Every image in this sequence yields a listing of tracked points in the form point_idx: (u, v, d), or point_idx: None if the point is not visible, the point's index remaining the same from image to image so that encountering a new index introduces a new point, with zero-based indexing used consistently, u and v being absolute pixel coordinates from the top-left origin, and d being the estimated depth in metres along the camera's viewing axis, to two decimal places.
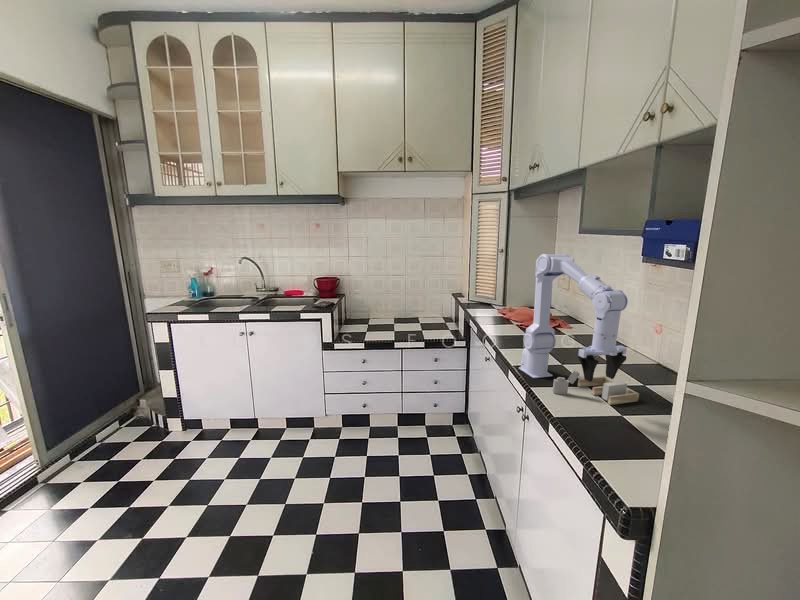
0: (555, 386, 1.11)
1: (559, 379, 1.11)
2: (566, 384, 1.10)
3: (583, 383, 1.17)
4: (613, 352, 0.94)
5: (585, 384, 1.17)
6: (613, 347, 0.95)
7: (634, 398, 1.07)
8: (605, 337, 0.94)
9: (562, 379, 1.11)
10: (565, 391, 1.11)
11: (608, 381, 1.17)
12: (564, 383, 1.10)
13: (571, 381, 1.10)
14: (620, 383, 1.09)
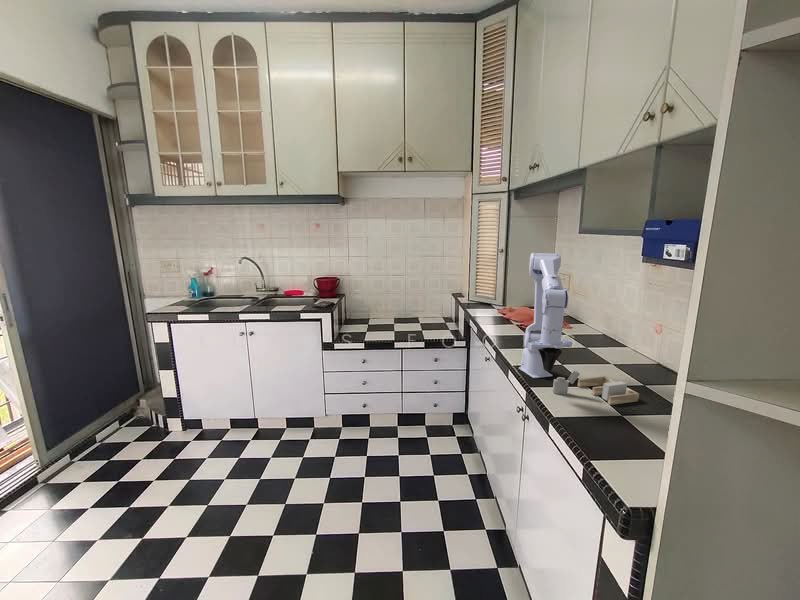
0: (555, 386, 1.11)
1: (559, 379, 1.11)
2: (566, 384, 1.10)
3: (583, 383, 1.17)
4: (558, 345, 1.03)
5: (585, 384, 1.17)
6: (558, 341, 1.04)
7: (634, 398, 1.07)
8: (550, 331, 1.03)
9: (562, 379, 1.11)
10: (565, 391, 1.11)
11: (608, 381, 1.17)
12: (564, 383, 1.10)
13: (571, 381, 1.10)
14: (619, 383, 1.09)
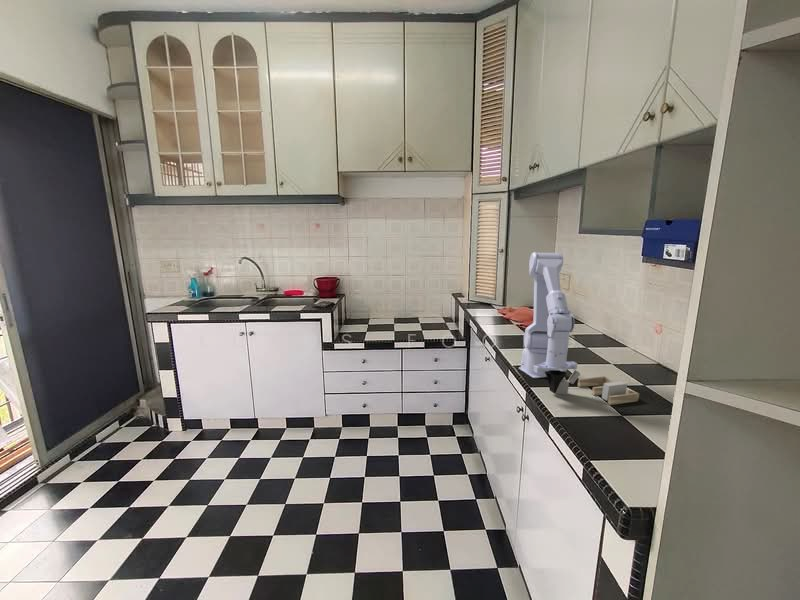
0: None
1: None
2: (566, 384, 1.10)
3: (583, 383, 1.17)
4: (563, 368, 1.06)
5: (585, 384, 1.17)
6: (563, 363, 1.06)
7: (634, 398, 1.07)
8: (556, 355, 1.06)
9: (562, 379, 1.11)
10: (565, 391, 1.11)
11: (608, 381, 1.17)
12: (564, 383, 1.10)
13: (571, 381, 1.10)
14: (620, 383, 1.09)
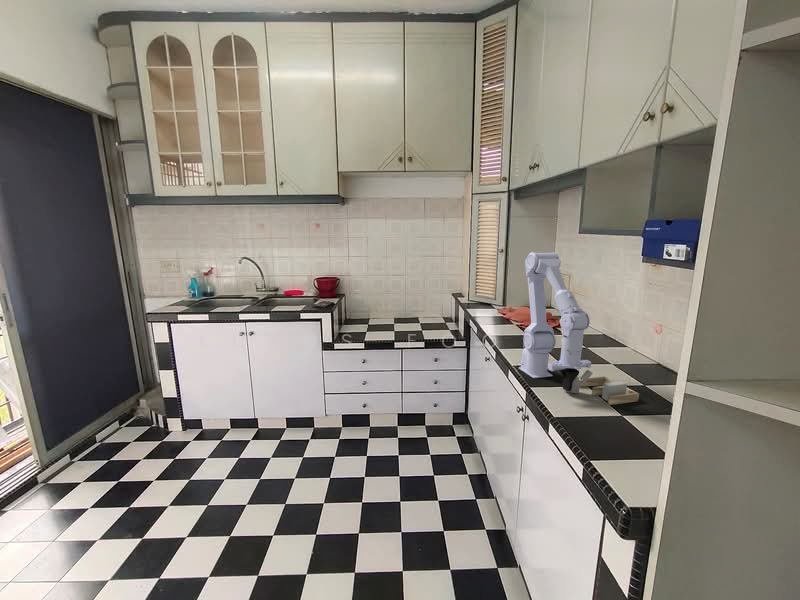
0: None
1: None
2: (578, 383, 1.11)
3: (583, 383, 1.17)
4: (578, 366, 1.06)
5: (585, 384, 1.17)
6: (578, 361, 1.07)
7: (634, 398, 1.07)
8: (570, 353, 1.07)
9: (575, 378, 1.12)
10: (577, 390, 1.12)
11: (608, 381, 1.17)
12: (577, 382, 1.11)
13: (583, 380, 1.11)
14: (620, 383, 1.09)
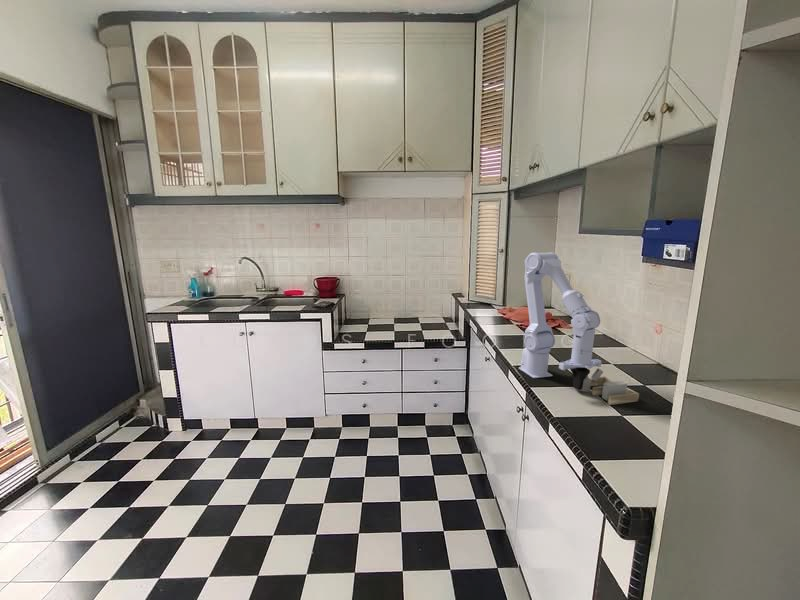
0: None
1: None
2: (589, 381, 1.13)
3: None
4: (589, 365, 1.08)
5: None
6: (589, 361, 1.08)
7: (634, 398, 1.07)
8: (581, 352, 1.08)
9: None
10: (588, 388, 1.13)
11: (608, 381, 1.17)
12: (587, 380, 1.13)
13: (594, 379, 1.12)
14: (620, 383, 1.09)
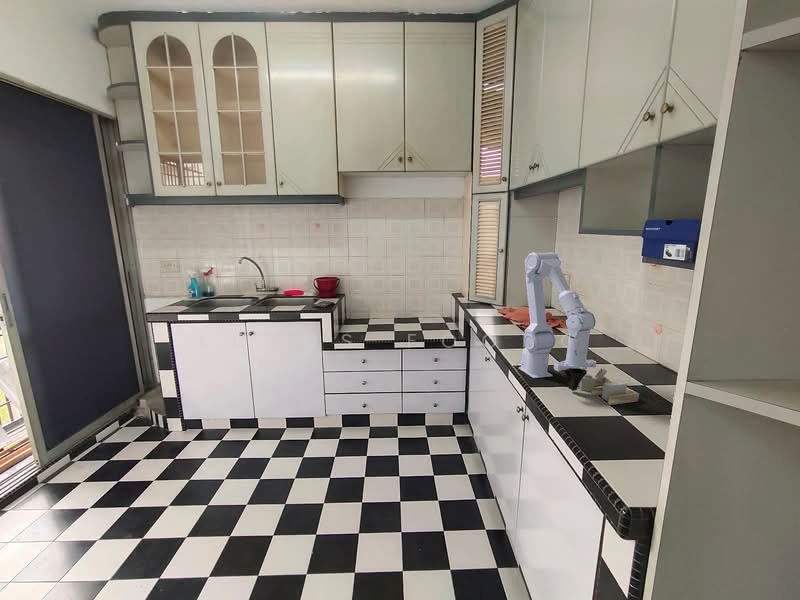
0: (582, 383, 1.14)
1: (586, 376, 1.13)
2: (593, 381, 1.13)
3: None
4: (583, 366, 1.07)
5: None
6: (584, 362, 1.08)
7: (634, 398, 1.07)
8: (576, 353, 1.07)
9: (589, 376, 1.13)
10: None
11: (608, 381, 1.17)
12: (591, 380, 1.13)
13: (598, 378, 1.12)
14: (620, 383, 1.09)
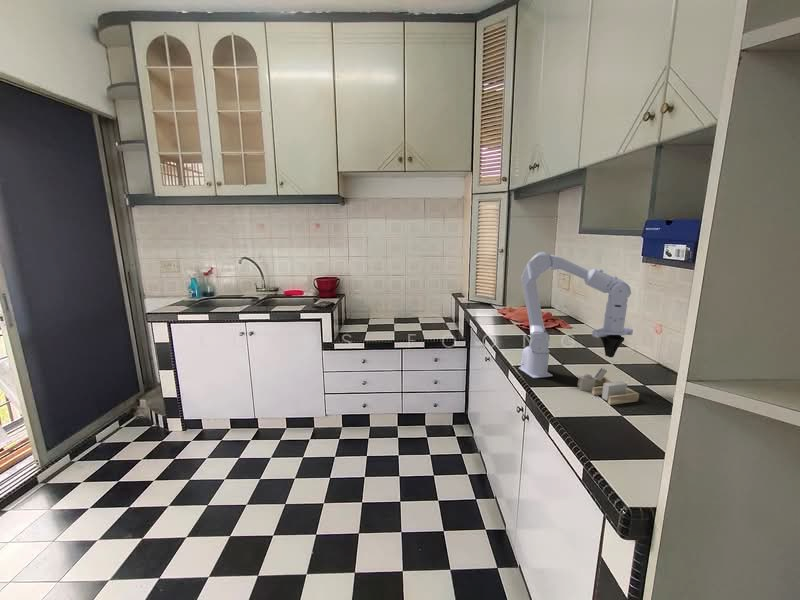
0: (582, 383, 1.14)
1: (586, 376, 1.13)
2: (593, 381, 1.13)
3: None
4: (622, 332, 1.11)
5: None
6: (622, 328, 1.12)
7: (634, 398, 1.07)
8: (615, 320, 1.11)
9: (589, 376, 1.13)
10: None
11: (608, 381, 1.17)
12: (591, 380, 1.13)
13: (598, 378, 1.12)
14: (620, 383, 1.09)
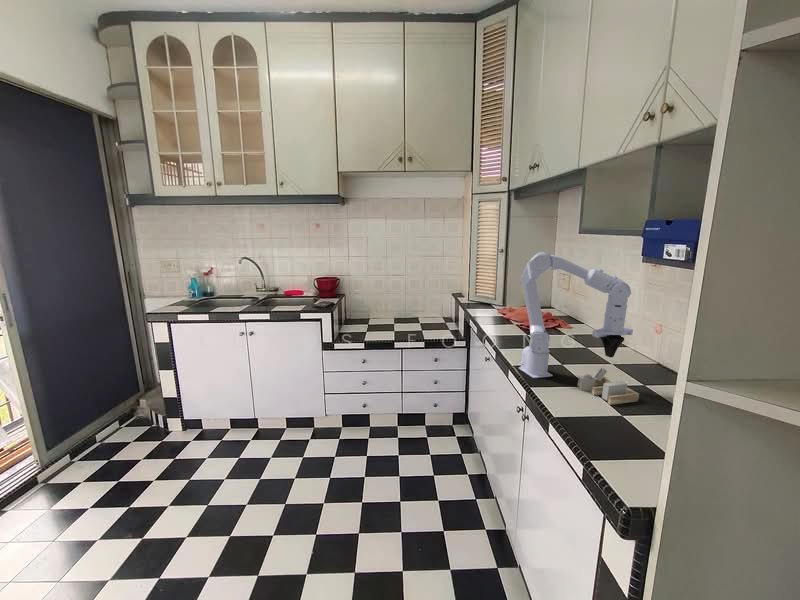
0: (582, 383, 1.14)
1: (586, 376, 1.13)
2: (593, 381, 1.13)
3: None
4: (622, 332, 1.11)
5: None
6: (622, 328, 1.12)
7: (634, 398, 1.07)
8: (615, 320, 1.11)
9: (589, 376, 1.13)
10: None
11: (608, 381, 1.17)
12: (591, 380, 1.13)
13: (598, 378, 1.12)
14: (619, 383, 1.09)
